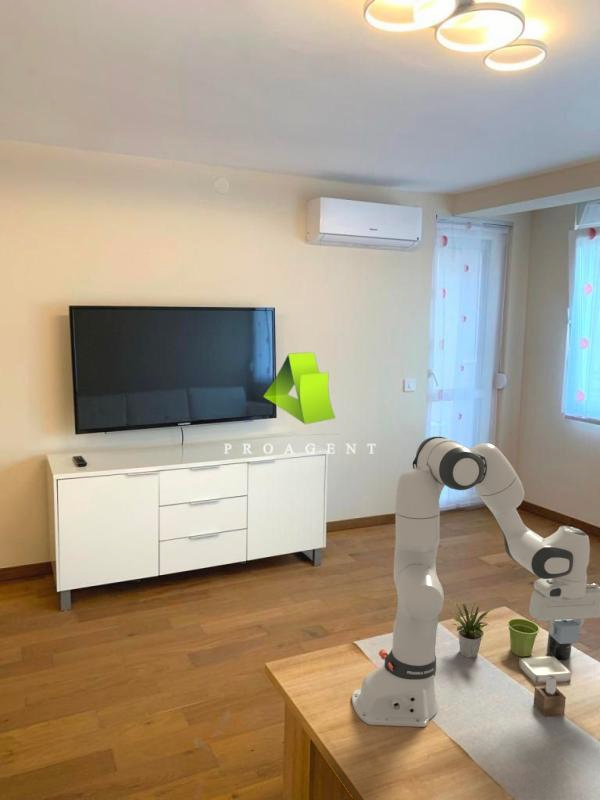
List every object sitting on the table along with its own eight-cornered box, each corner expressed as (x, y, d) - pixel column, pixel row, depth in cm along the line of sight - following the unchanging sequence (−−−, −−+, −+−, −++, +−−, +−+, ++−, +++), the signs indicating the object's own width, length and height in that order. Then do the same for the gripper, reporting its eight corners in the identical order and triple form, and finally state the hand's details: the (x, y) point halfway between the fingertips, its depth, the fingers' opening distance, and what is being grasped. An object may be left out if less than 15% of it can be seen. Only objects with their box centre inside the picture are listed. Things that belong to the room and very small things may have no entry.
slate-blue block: (559, 643, 172) (561, 626, 171) (548, 633, 177) (550, 616, 176) (578, 642, 173) (580, 625, 172) (566, 632, 178) (568, 615, 177)
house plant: (433, 654, 193) (436, 603, 191) (450, 636, 205) (453, 588, 203) (479, 670, 185) (483, 617, 183) (494, 650, 197) (498, 600, 195)
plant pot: (540, 650, 198) (542, 624, 197) (533, 663, 190) (535, 636, 189) (509, 641, 203) (511, 615, 202) (501, 653, 195) (504, 627, 194)
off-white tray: (535, 683, 179) (536, 675, 179) (518, 666, 188) (519, 658, 188) (570, 680, 182) (571, 672, 181) (552, 663, 190) (553, 655, 190)
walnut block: (544, 716, 165) (546, 699, 164) (533, 704, 170) (535, 686, 169) (564, 715, 166) (565, 697, 165) (552, 702, 171) (553, 685, 170)
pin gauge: (547, 712, 166) (549, 681, 165) (542, 707, 169) (544, 675, 167) (555, 712, 167) (558, 680, 166) (550, 706, 169) (553, 675, 168)
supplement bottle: (572, 663, 191) (576, 625, 189) (548, 660, 192) (552, 622, 191) (567, 651, 198) (571, 615, 196) (544, 648, 199) (548, 612, 197)
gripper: (595, 578, 178) (590, 625, 180) (528, 581, 174) (524, 629, 176) (610, 588, 172) (604, 636, 174) (541, 591, 168) (536, 640, 170)
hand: (563, 632), depth 175 cm, fingers closed on slate-blue block, 5 cm apart
